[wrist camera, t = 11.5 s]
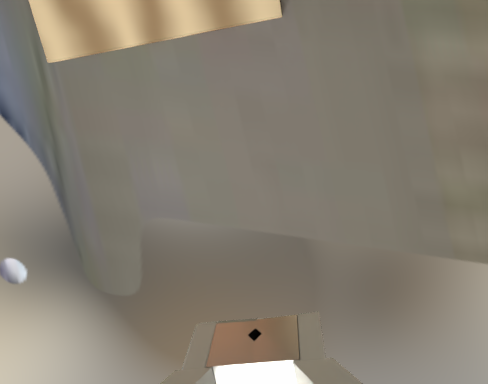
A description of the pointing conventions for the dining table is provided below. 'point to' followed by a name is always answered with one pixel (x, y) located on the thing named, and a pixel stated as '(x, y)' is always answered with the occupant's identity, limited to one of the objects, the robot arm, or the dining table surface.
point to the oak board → (136, 22)
